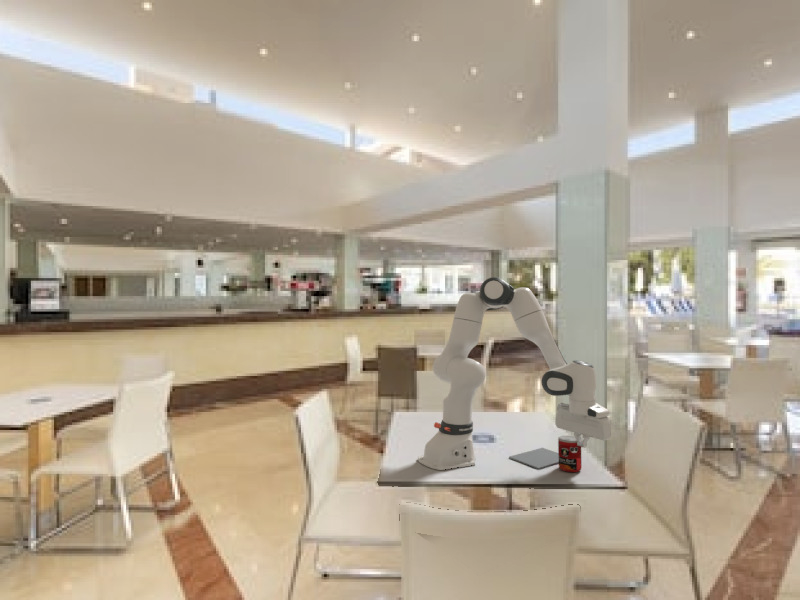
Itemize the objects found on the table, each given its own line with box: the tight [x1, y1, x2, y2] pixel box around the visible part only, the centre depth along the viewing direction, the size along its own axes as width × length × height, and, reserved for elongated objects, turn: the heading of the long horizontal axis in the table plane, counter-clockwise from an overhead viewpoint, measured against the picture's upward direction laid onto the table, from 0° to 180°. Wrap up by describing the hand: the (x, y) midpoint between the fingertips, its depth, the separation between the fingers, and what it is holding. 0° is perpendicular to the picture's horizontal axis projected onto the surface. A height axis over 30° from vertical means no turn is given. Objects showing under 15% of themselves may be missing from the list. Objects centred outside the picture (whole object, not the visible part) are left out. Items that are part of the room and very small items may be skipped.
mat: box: [508, 447, 559, 470], centre depth 180 cm, size 20×14×1 cm
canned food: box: [557, 435, 582, 473], centre depth 169 cm, size 8×8×11 cm
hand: (581, 446), depth 165 cm, fingers closed
